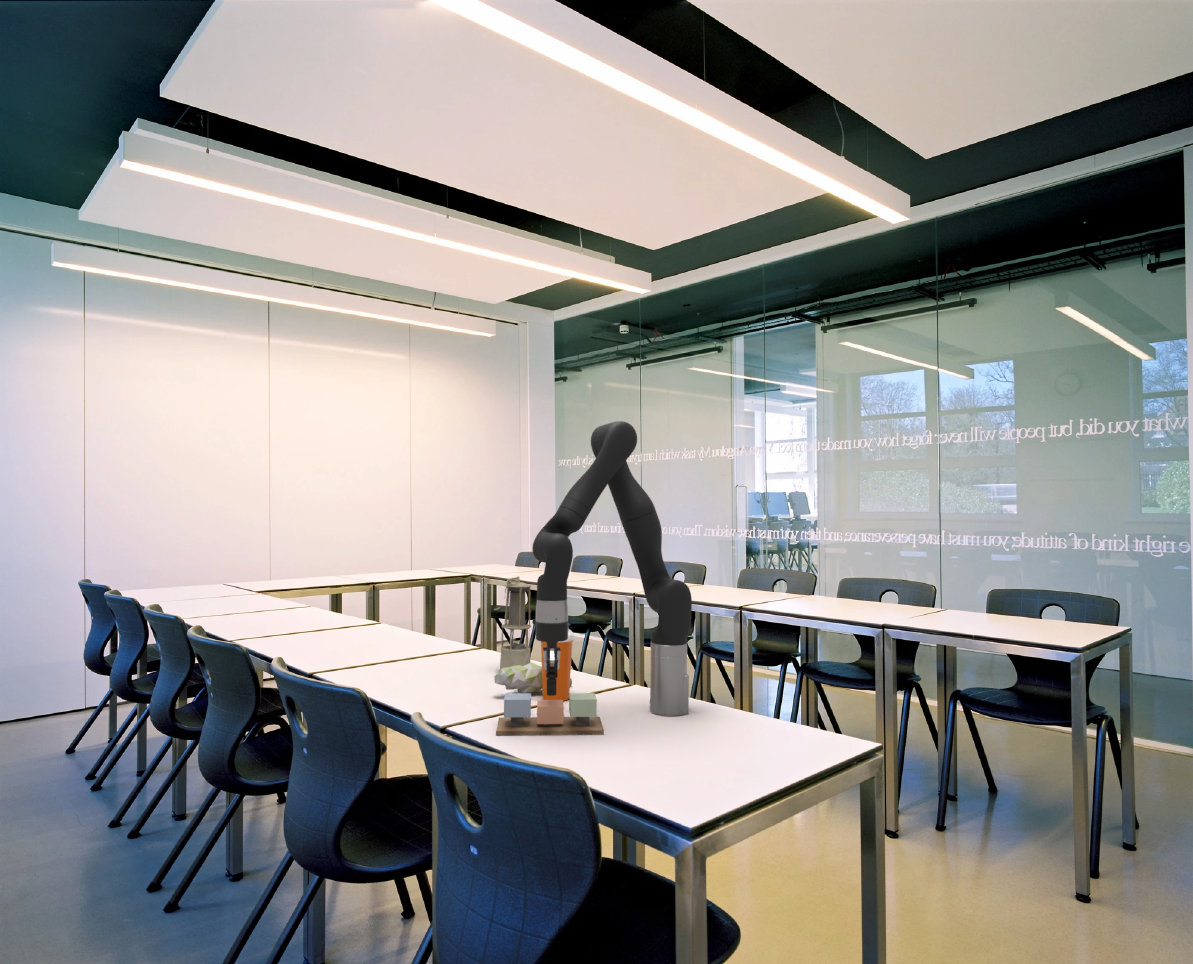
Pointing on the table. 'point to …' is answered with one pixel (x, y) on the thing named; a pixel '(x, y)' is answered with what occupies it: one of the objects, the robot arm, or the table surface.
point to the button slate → (517, 705)
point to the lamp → (515, 624)
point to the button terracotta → (550, 712)
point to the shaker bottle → (560, 670)
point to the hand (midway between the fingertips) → (551, 694)
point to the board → (549, 726)
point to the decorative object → (521, 678)
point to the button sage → (582, 705)
